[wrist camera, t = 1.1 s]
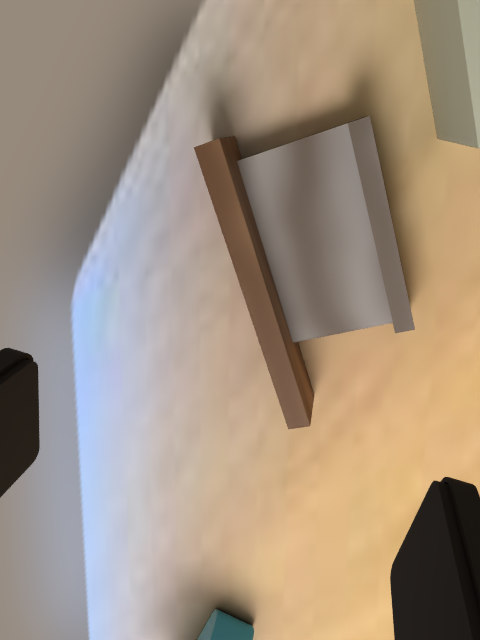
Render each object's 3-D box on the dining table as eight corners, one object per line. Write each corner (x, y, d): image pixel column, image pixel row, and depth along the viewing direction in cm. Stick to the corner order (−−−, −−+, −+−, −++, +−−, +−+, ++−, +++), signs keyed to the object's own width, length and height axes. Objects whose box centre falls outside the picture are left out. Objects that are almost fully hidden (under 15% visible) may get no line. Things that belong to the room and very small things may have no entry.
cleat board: (362, 89, 27) (363, 85, 24) (423, 378, 34) (432, 409, 30) (212, 144, 30) (194, 147, 27) (294, 398, 37) (288, 429, 33)
